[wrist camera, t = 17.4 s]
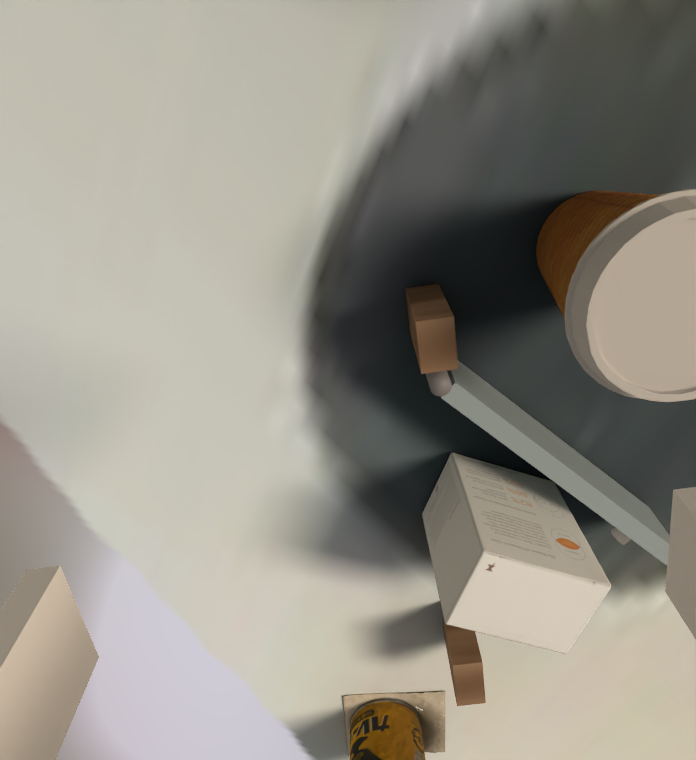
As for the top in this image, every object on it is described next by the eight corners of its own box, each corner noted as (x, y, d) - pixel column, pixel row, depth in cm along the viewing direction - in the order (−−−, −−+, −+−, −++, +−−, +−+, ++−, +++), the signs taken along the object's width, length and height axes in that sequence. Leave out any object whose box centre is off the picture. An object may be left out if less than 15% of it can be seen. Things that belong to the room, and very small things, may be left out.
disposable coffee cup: (654, 321, 40) (771, 410, 29) (500, 322, 40) (560, 412, 29) (687, 159, 36) (838, 193, 25) (517, 160, 36) (593, 194, 25)
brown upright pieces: (405, 288, 39) (415, 321, 33) (438, 283, 39) (454, 316, 33) (444, 639, 51) (457, 706, 46) (470, 636, 51) (485, 702, 45)
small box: (420, 512, 46) (440, 625, 36) (450, 448, 44) (480, 550, 34) (522, 541, 47) (567, 658, 38) (556, 480, 45) (615, 588, 35)
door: (402, 363, 41) (411, 403, 36) (427, 335, 40) (440, 372, 35) (621, 526, 46) (655, 581, 41) (647, 504, 45) (685, 558, 40)
